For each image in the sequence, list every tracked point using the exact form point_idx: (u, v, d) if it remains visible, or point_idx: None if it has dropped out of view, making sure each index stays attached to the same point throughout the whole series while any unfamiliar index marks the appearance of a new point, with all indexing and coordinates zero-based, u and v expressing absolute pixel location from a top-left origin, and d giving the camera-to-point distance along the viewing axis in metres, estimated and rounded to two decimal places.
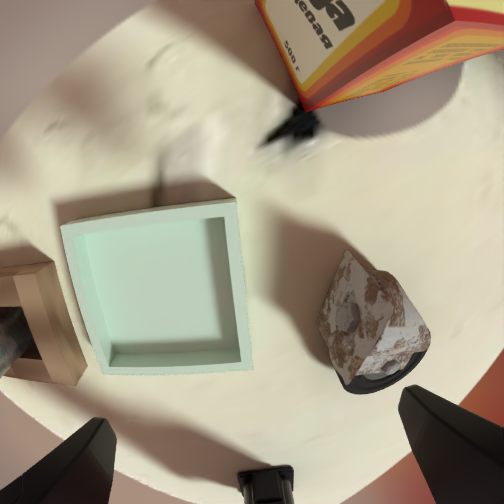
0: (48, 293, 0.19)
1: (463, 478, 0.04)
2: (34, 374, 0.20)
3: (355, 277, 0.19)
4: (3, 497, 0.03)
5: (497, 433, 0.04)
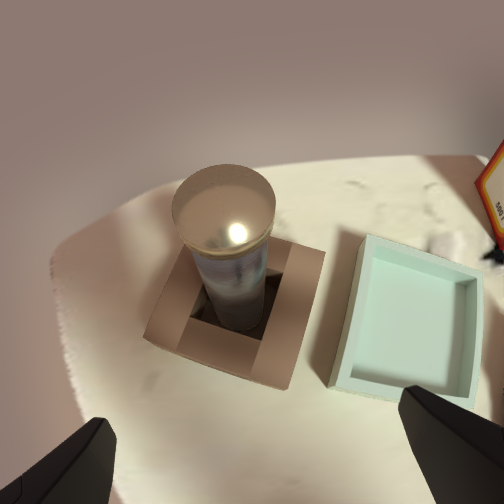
0: None
1: (463, 478, 0.04)
2: (223, 355, 0.19)
3: None
4: (3, 497, 0.03)
5: (497, 433, 0.04)
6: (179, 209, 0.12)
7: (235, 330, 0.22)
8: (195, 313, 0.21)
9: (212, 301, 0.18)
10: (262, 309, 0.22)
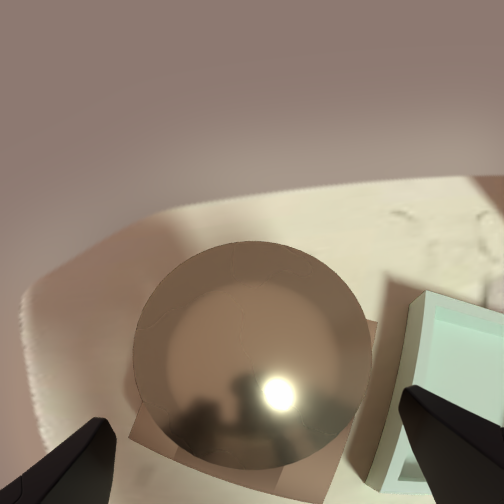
0: None
1: (463, 478, 0.04)
2: (238, 469, 0.12)
3: None
4: (3, 496, 0.03)
5: (497, 433, 0.04)
6: (149, 362, 0.05)
7: None
8: None
9: None
10: None
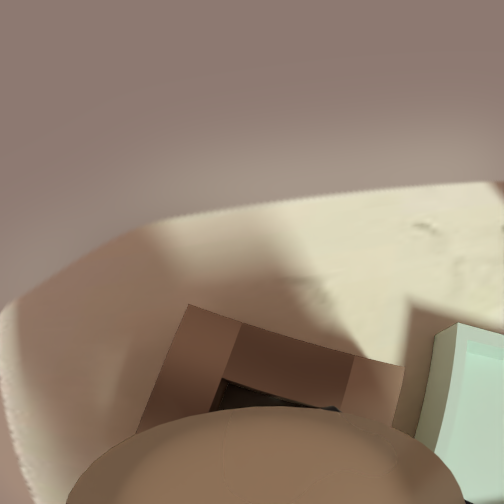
0: None
1: None
2: None
3: None
4: None
5: None
6: None
7: None
8: None
9: None
10: None
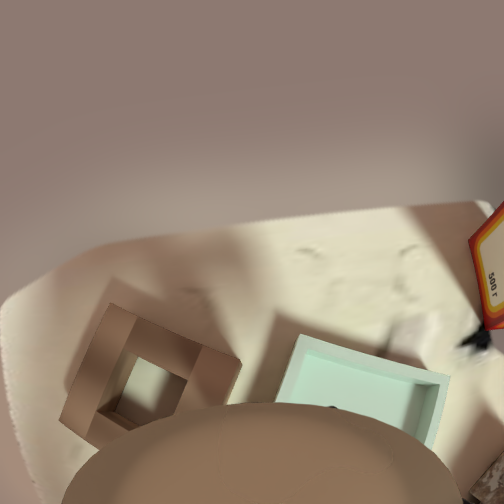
0: (230, 388, 0.18)
1: None
2: None
3: None
4: None
5: None
6: None
7: None
8: (105, 404, 0.18)
9: None
10: None
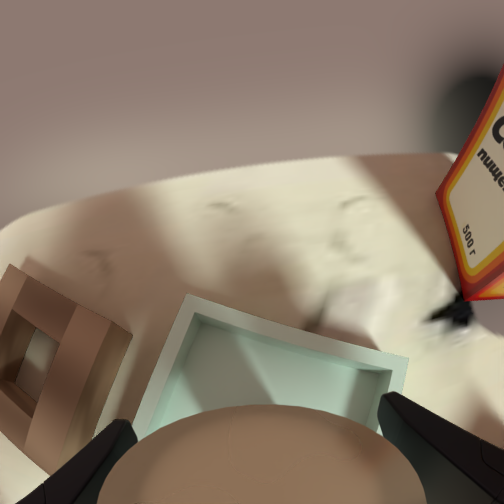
0: (106, 358, 0.14)
1: (438, 491, 0.04)
2: (5, 423, 0.11)
3: None
4: None
5: (475, 446, 0.04)
6: None
7: None
8: None
9: None
10: None
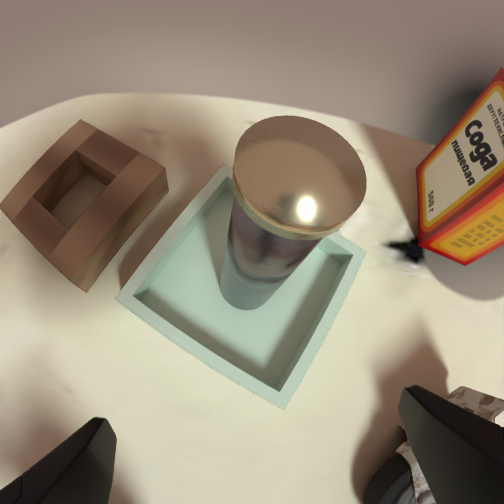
0: (149, 194, 0.20)
1: (463, 478, 0.04)
2: (38, 234, 0.17)
3: (469, 396, 0.17)
4: (3, 497, 0.03)
5: (497, 433, 0.04)
6: (245, 155, 0.08)
7: (236, 307, 0.20)
8: (42, 197, 0.19)
9: (227, 272, 0.15)
10: None
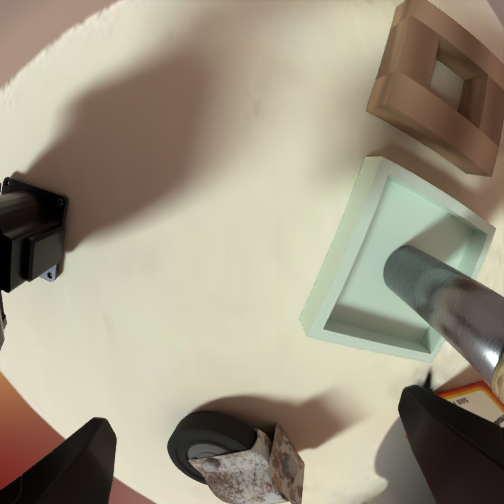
0: (467, 163, 0.17)
1: (463, 478, 0.04)
2: (412, 52, 0.14)
3: (300, 474, 0.23)
4: (3, 497, 0.03)
5: (497, 433, 0.04)
6: None
7: (385, 266, 0.20)
8: (438, 43, 0.14)
9: (433, 275, 0.15)
10: None
